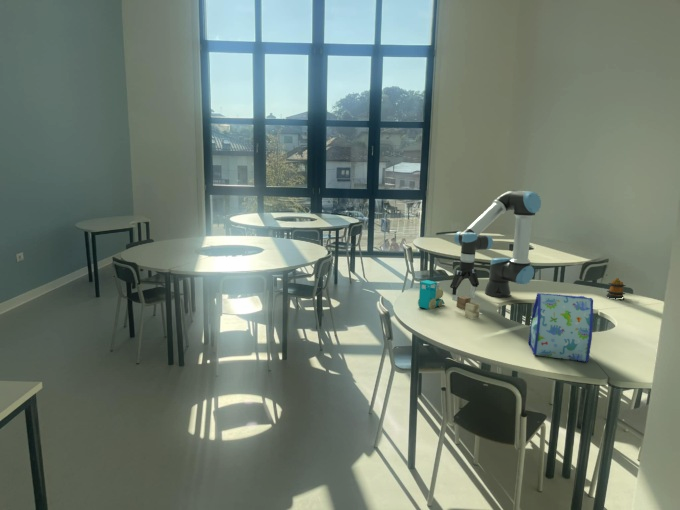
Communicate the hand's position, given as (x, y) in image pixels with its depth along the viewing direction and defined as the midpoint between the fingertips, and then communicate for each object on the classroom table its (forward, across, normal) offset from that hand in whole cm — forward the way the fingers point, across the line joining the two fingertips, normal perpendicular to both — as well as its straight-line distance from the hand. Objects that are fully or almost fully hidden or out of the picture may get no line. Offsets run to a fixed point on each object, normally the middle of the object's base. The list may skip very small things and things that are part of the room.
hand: (463, 299), depth 257 cm
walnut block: (+6, 0, 0) cm, 6 cm away
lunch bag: (+6, +10, +63) cm, 64 cm away
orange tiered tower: (+4, -108, +27) cm, 112 cm away
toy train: (+7, +11, -12) cm, 18 cm away
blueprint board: (+6, +6, +12) cm, 15 cm away
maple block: (+5, +8, +14) cm, 17 cm away
